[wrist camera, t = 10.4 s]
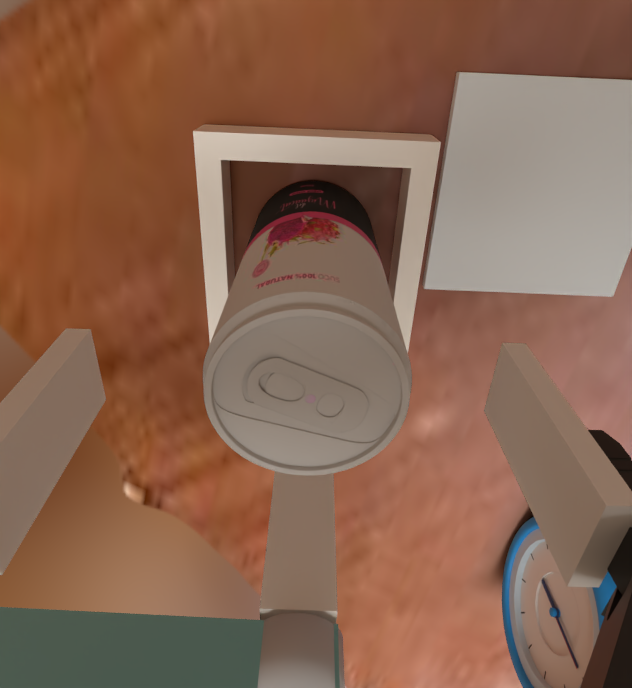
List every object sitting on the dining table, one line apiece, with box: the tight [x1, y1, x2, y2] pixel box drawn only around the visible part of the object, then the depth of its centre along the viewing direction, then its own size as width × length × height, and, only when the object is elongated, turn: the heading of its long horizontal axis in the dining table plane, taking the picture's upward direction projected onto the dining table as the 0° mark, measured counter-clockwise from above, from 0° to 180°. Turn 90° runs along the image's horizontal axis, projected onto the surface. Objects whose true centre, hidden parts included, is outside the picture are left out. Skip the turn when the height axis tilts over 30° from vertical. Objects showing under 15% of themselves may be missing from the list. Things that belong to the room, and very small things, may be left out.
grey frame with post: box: [193, 124, 441, 624], centre depth 23 cm, size 11×18×16 cm, turn 178°
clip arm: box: [0, 607, 345, 688], centre depth 18 cm, size 4×15×3 cm, turn 86°
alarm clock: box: [502, 517, 617, 688], centre depth 34 cm, size 13×6×15 cm, turn 170°
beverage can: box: [203, 181, 412, 476], centre depth 21 cm, size 6×7×15 cm
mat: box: [422, 72, 632, 297], centre depth 26 cm, size 11×11×1 cm
